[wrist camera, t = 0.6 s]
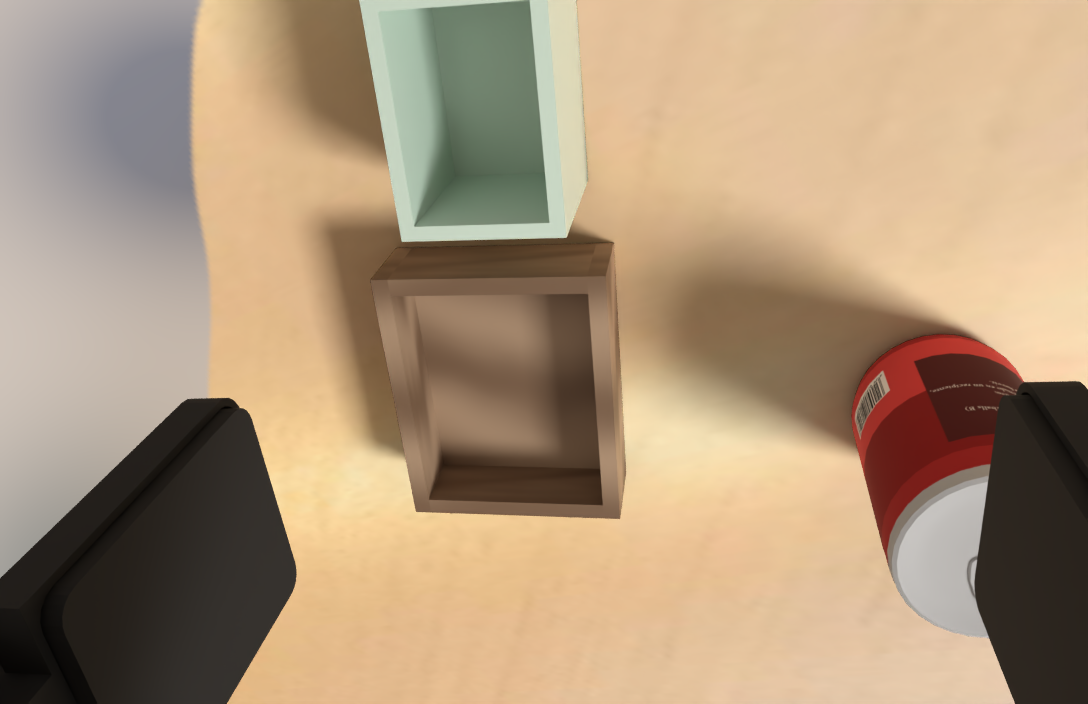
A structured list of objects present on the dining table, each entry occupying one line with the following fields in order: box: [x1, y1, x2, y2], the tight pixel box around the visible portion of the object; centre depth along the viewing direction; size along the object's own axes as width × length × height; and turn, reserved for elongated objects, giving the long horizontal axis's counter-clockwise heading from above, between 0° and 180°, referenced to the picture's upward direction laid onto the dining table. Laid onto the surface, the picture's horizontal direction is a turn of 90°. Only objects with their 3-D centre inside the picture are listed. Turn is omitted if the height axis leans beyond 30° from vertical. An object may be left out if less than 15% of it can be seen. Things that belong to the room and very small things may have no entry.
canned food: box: [851, 334, 1024, 638], centre depth 36 cm, size 8×8×11 cm
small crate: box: [359, 0, 588, 242], centre depth 34 cm, size 9×6×7 cm
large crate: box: [370, 243, 626, 519], centre depth 42 cm, size 13×10×4 cm
